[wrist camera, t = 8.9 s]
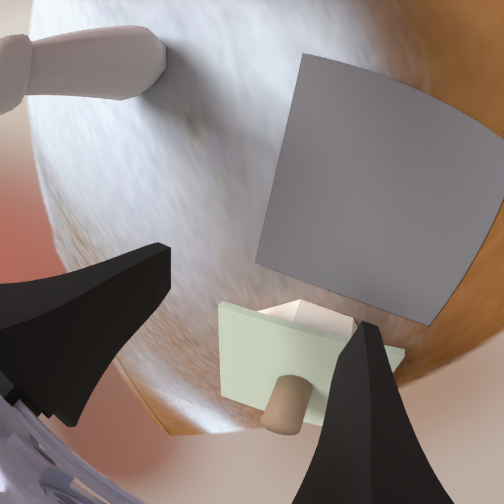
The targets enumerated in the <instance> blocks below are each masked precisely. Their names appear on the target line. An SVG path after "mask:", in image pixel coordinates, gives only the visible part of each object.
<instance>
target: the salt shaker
mask: <svg viewBox="0 0 504 504" xmlns="http://www.w3.org/2000/svg"><path fill="white" fill-rule="evenodd" d="M166 68H167V60H166V46H165V45H164V44H163V43H162V42H161V41H160V40H159V39H158V38H157V37H156V36H155V35H154V34H153V33H152V32H151V31H150V30H149V29H148V28H145V27H142V26H132V25H128V26H115V27H104V28H96V29H89V30H82V31H76V32H71V33H66V34H61V35H56V36H52V37H48V38H44V39H40V40H36V41H33V42H31V41H30V39H29V37H28V36H27V35H23V34H21V35H10V36H6V37H3V38H0V115H2V114H4V113H6V112H9V111H11V110H12V109H14V108H15V107H17V106H18V105H19V104H20V103H21V102H22V99H23V97H24V95H67V96H82V97H94V98H104V99H113V100H124V99H128V98H132V97H135V96H138V95H140V94H141V93H142V92H144V91H145V90H147V89H148V88H150V87H151V86H153V84H154V83H155V82H156V81H157V79H158V78H159V77H160V76H161V74H162V73H163V72H164V71H165V69H166Z"/></svg>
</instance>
